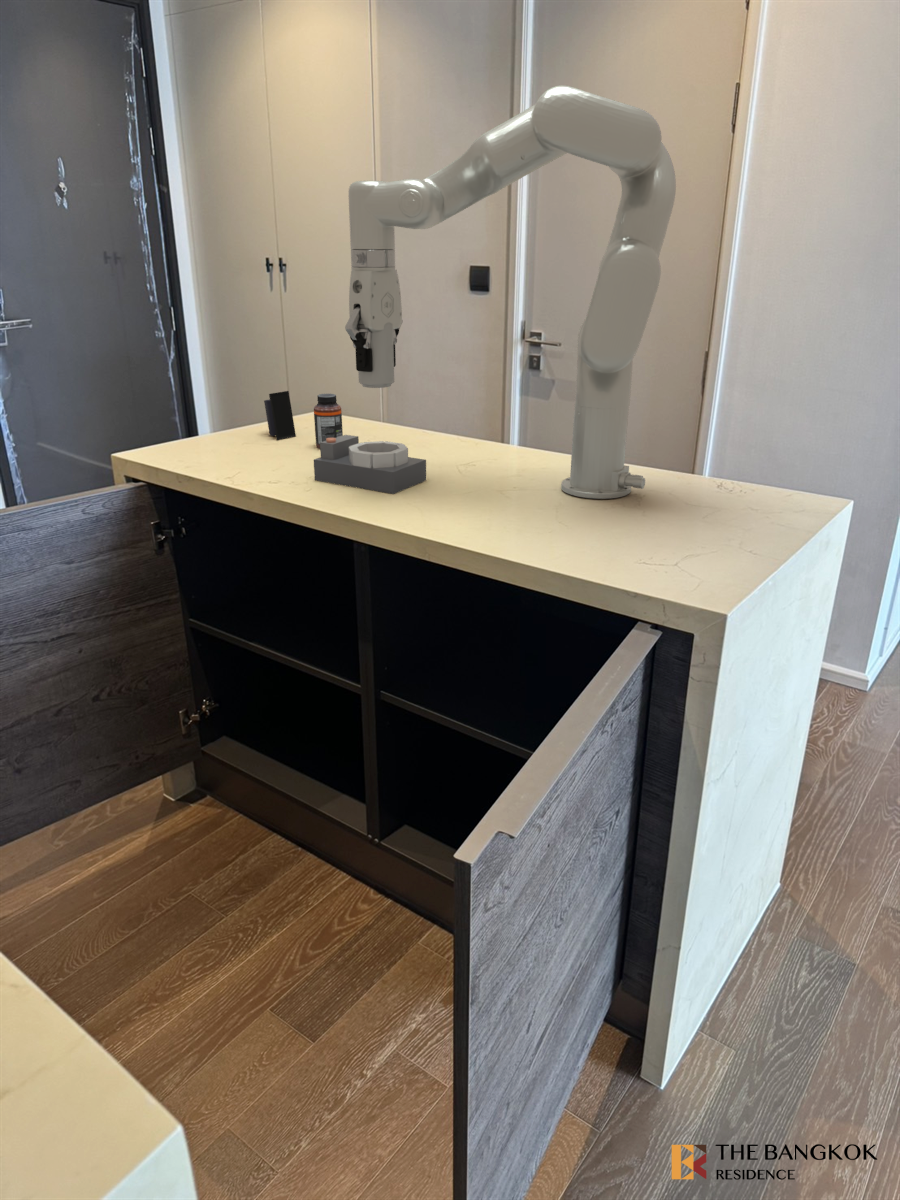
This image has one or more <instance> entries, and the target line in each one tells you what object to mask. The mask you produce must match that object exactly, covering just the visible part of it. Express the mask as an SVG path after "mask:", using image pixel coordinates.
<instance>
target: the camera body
mask: <svg viewBox="0 0 900 1200" xmlns="http://www.w3.org/2000/svg"><path fill="white" fill-rule="evenodd" d="M319 449H320V451H319V452H320V457H317V458H313V469H314V470H313V473H314V481H316V480H317V482H324V483H328V482H329V484H334V483H335V484H334V485H339V484H340V486H345V485H346V487H350V486H351V488H356V487H357V489H362V488H363V489H362V490H367V489H369V491H373V490H374V491H375V492H380V493H385V494H392V495H394V494H397V493H400V492H402V491H405V490H408V489H409V488H412V487H414V486H417V485H419V484H422V483H424V482H426V481H427V459H425V458H424V459H423V458H417V457H410V456H409V448H408V446H406V444H404V443H401V442H394V441H386V440H385V441H383V440H379V441H377V440H376V441H364V442H359V436H358V435H350V434H343V436H340V437H337V438H326V441H323V442H320V448H319Z"/></svg>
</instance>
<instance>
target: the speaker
mask: <svg viewBox="0 0 900 1200" xmlns="http://www.w3.org/2000/svg"><path fill="white" fill-rule="evenodd" d="M268 396H269V398H268V399H265V400H263V402H264V409H265V415H266V421H267V428H268V433H269V436H272V437H276V441H280V440H285V439H290V438H291V439H292V438H295V437H296V436H297V435H296V434H297V433H296V430H295V429H296V428H295V421H294V416H293V410H292V403H291V398H290V397H291V396H290V391H289V390H286V391H285V390H284V391H280V392H279V391H278V392H272V393H268Z"/></svg>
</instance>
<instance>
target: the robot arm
mask: <svg viewBox="0 0 900 1200" xmlns="http://www.w3.org/2000/svg"><path fill="white" fill-rule="evenodd" d="M566 154H569V155H571V156H574V157H578V158H581V159H585V160H586V161H590V162H593V163H597V164H599V165H604V166H606V167H608V168H609V169H610V170H611V171H612V172H614V173H615V175H617V176H618V178H619V181H620V185H621V186H620V187H621V195H620V201H619V205H618V208H617V211H616V215H615V220H614V223H613V227H612V230H611V233H610V237H609V241H608V244H607V246H606V249H605V252H604V254H603V255H602V258H601V260H600V263H599V266H598V273H597V274H598V275H597V279H596V283H595V286H594V289H593V293H592V295H591V299H590V303H589V306H588V310H587V313H586V317H585V319H584V320H583V321H582V323H581V325H580V328H579V331H578V334H577V350H576V351H577V352H576V353H577V354H576V355H577V357H576V358H577V360H576V377H575V391H574V392H575V393H574V394H575V397H574V405H573V406H574V408H573V411H574V412H573V423H572V425H573V426H572V439H571V440H572V442H571V456H570V458H571V460H570V473H569V474H570V477H568V478H565V479H563V480H562V481H561V485H560V488H561V490H562V492H564V493H566V494H568V495H571V496H574V497H579V498H584V499H585V498H586V499H592V500H593V499H595V500H596V499H598V500H602V499H603V500H604V499H606V500H607V499H617V498H621V497H625V496H628V495H629V494H630V493H631V492H632V488H634V489H640V490H643V489H644V488H645V486H646V478H645V477H644V475H639V474H632V473H631V472H630V465H625V458H626V449H627V448H626V446H627V438H628V437H627V435H628V422H629V414H630V413H629V412H630V403H631V392H632V390H631V389H632V382H633V381H632V377H633V365H634V364H633V360H634V358H635V356H636V354H637V353H638V350H639V347H640V345H641V342H642V338H643V336H644V332H645V330H646V327H647V323H648V320H649V317H650V314H651V311H652V308H653V305H654V302H655V299H656V296H657V292H658V289H659V286H660V282H661V281H660V280H661V274H662V273H661V272H662V267H661V262H660V259H659V257H660V255H661V250H662V247H663V244H664V240H665V239H666V238H665V237H666V235H667V230H668V226H669V223H670V219H671V216H672V212H673V208H674V205H675V199H676V190H677V180H676V179H677V178H676V172H675V168H674V164H673V161H672V160H673V159H672V158H671V156H670V153H669V151H668V149H667V148H666V145H664V143H663V141H662V131H661V127H660V125H659V123H658V121H657V119H656V118H655V117H654V116H653V115H652V114H651V113H650V112H648V111H646V110H645V109H643V108H640V107H636V106H634V105H631V104H627V103H625V102H624V103H623V102H620V101H617V100H614V99H610V98H608V97H605V96H601V95H599V94H595V93H592V92H589V91H586V90H583V89H580V88H576V87H574V86H570V85H560V84H559V85H556V86H552V87H550V88H548V89H547V90H545V91H544V92H542V94H541V95H540V96H539V98H538V99H537V101H536V102H535V104H533V105H532V106H530V107H528V108H527V109H525V110H523V111H521V112H519V113H518V114H516V115H515V116H513V117H510V118H509V119H508V120H506V121H504V122H502V123H501V124H498V125H497V126H495V127H493V128H491V129H489V130H488V131H486V132H483V134H481V135H480V136H479V137H478V138H476V139H475V140H474V142H473V143H471V145H470V146H469V147H468V149H467V150H466V151H465V152H464V153H462V155H461V156H459V157H458V158H457V159H455V160H454V161H452V162H451V163H449V164H448V165H445V167H442V168H441V169H439V170H438V171H436V172H434V173H432V174H430V175H428V176H427V177H425V178H423V179H419V178H406V179H400V180H394V181H382V180H358V181H357V180H356V181H354V182H352V183H351V184H350V185H349V188H348V214H349V215H348V218H349V240H350V242H349V243H350V263H351V265H350V266H351V269H350V279H349V288H348V289H349V291H348V292H349V293H348V311H349V312H348V314H349V319H348V320H347V323H346V324H345V326H344V329H345V331H346V332H347V334H348V336H349V338H350V340H351V341H352V346H353V348H354V349H355V369H356V371H357V372H358V371H363V372H372V371H373V360H372V348H369V347H370V342H371V337H372V332H379V331H381V330H383V329H384V325H385V324H386V323H388V322H390V323H392V324H393V349H394V368H395V367H396V365H397V363H396V345H397V342H398V335H399V333H400V329H401V327H402V325H403V310H402V309H403V308H402V307H403V306H402V297H401V296H402V295H401V287H400V279H399V274H398V271H397V269H396V250H395V249H396V247H395V245H396V244H395V239H396V238H395V227H396V228H399V227H400V228H403V229H410V230H427V229H430V228H432V227H434V226H437V225H439V224H440V223H443V222H444V221H446V220H448V219H450V218H452V217H453V216H456V215H457V214H459V213H460V212H463V211H465V210H466V209H468V208H470V207H471V206H473V205H474V204H475V205H476V204H477V203H478V202H480V201H482V200H483V199H485V198H487V197H490V196H493V195H495V194H496V193H498V192H500V191H502V190H503V189H505V188H506V187H509V186H510V185H512V184H513V183H516V181H519V180H520V179H523V177H526V176H528V175H530V174H531V173H533V172H535V171H537V170H538V169H540V168H542V167H544V166H546V165H548V164H550V163H551V162H554V161H555V160H558V159H559V158H561V157H563V156H565V155H566ZM360 325H364V326H365V328H367V329H360ZM361 334H365V339H364V338H363V336H362V335H361Z"/></svg>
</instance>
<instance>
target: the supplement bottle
mask: <svg viewBox="0 0 900 1200" xmlns="http://www.w3.org/2000/svg"><path fill="white" fill-rule="evenodd" d="M342 412H343V411H342V406H341V405H340V404H338V402H337V394H334V393H321V394H320V393H319V394H318V395H317V404H316V405H315V406H314V407H313V418H314V421H313V422H314V432H315V433H314V434H315V435H314V436H315V446H316V447H317V448H318V449H320V442H323V441H326V438H337V437H340V436H343V435H344V432H343V416H342V415H343V414H342Z"/></svg>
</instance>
